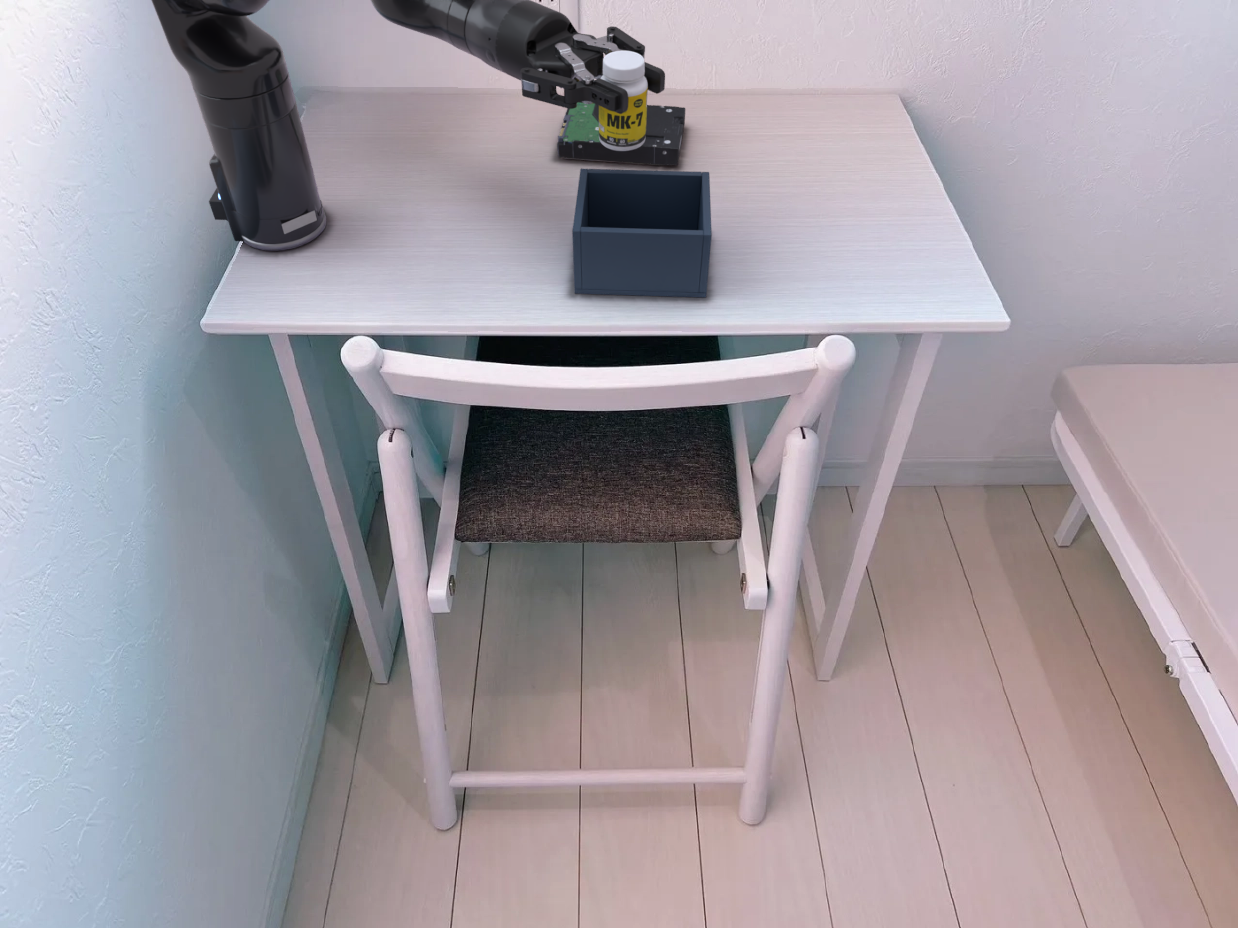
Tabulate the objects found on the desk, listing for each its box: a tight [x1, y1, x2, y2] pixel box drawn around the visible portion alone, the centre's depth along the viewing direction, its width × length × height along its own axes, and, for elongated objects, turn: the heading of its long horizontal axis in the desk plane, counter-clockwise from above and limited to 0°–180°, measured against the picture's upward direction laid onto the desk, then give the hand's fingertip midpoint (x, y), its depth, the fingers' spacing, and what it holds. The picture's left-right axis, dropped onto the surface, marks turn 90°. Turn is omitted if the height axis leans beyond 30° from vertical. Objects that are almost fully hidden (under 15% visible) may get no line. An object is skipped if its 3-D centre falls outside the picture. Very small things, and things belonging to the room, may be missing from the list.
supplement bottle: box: [599, 51, 649, 151], centre depth 96 cm, size 5×5×8 cm
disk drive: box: [556, 102, 686, 166], centre depth 121 cm, size 10×3×15 cm
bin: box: [572, 168, 713, 298], centre depth 102 cm, size 14×12×8 cm
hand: (643, 92), depth 94 cm, fingers closed on supplement bottle, 4 cm apart
